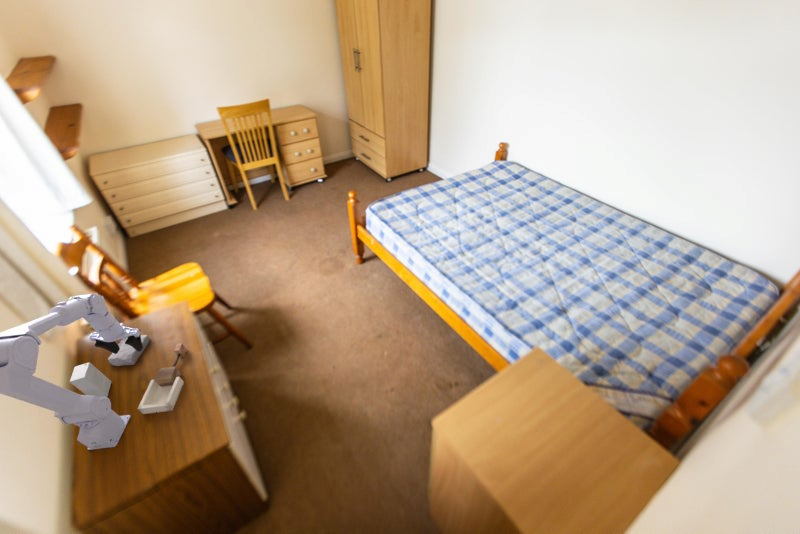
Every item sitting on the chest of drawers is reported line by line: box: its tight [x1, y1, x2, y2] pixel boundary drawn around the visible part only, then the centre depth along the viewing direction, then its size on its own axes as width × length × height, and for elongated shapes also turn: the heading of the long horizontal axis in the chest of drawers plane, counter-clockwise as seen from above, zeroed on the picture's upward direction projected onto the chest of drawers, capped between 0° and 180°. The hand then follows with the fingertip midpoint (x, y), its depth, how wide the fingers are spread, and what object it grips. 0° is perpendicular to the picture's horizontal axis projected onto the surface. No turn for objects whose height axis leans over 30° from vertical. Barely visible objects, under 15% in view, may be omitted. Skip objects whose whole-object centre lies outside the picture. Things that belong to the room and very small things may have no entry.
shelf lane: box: [137, 376, 185, 415], centre depth 112 cm, size 10×9×4 cm
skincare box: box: [69, 362, 112, 397], centre depth 112 cm, size 6×4×12 cm
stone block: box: [107, 334, 151, 367], centre depth 127 cm, size 12×5×10 cm
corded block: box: [155, 342, 188, 387], centre depth 120 cm, size 15×5×4 cm, turn 6°
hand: (129, 350), depth 117 cm, fingers open, 7 cm apart
